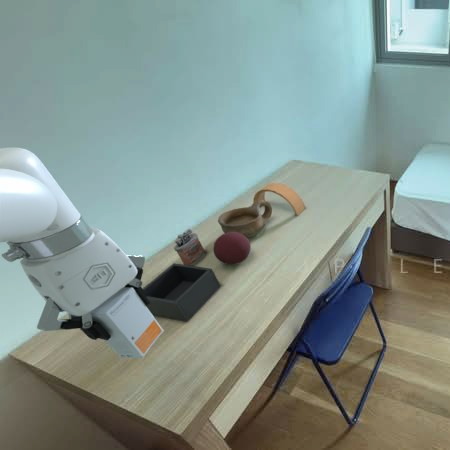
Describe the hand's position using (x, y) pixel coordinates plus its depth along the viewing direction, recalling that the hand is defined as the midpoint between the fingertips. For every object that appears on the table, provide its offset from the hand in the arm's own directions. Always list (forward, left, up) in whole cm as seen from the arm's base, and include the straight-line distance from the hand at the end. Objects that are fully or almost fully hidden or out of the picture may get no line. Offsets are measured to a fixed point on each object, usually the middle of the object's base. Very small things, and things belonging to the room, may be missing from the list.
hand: (123, 319), depth 53 cm
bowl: (+53, +18, -20) cm, 59 cm away
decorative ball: (+37, +12, -20) cm, 44 cm away
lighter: (+35, +26, -20) cm, 48 cm away
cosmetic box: (0, 0, -7) cm, 7 cm away
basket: (+20, +16, -20) cm, 33 cm away
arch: (+68, +15, -20) cm, 72 cm away
